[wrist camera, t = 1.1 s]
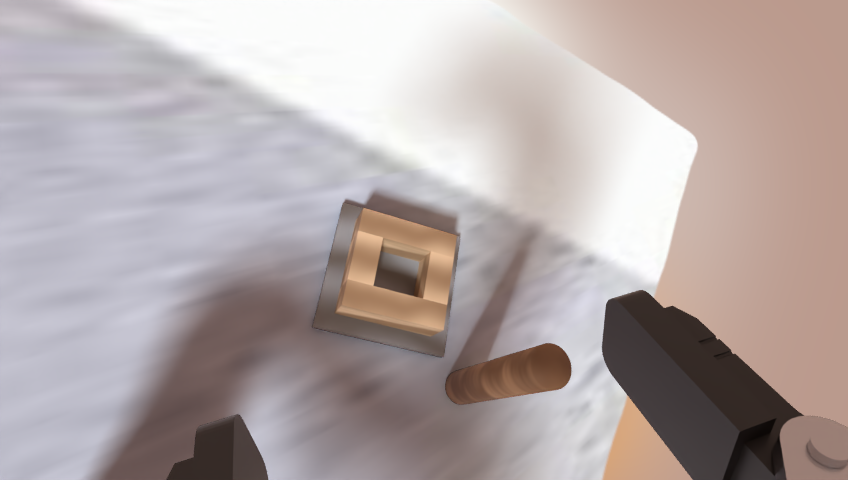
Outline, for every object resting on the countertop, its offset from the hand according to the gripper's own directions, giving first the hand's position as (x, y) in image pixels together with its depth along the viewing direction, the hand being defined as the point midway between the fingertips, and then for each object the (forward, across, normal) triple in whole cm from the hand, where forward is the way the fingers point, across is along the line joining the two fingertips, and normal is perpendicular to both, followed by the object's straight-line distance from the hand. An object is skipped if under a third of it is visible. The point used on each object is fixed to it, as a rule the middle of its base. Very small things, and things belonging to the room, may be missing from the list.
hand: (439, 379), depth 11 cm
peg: (+34, +8, -42) cm, 55 cm away
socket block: (+44, +4, -32) cm, 54 cm away
